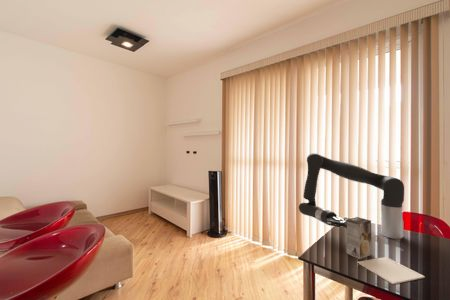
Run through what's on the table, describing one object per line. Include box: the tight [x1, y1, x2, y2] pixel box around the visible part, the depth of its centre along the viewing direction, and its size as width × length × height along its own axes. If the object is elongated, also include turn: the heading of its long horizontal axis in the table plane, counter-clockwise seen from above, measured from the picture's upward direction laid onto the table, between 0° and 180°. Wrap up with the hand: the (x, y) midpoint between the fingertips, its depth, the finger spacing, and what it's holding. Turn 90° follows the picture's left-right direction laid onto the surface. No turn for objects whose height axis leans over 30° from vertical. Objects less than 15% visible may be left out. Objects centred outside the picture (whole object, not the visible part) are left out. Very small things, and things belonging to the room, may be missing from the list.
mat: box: [356, 256, 426, 285], centre depth 82 cm, size 16×14×1 cm
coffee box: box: [345, 216, 372, 260], centre depth 95 cm, size 9×6×16 cm
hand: (351, 227), depth 99 cm, fingers closed
